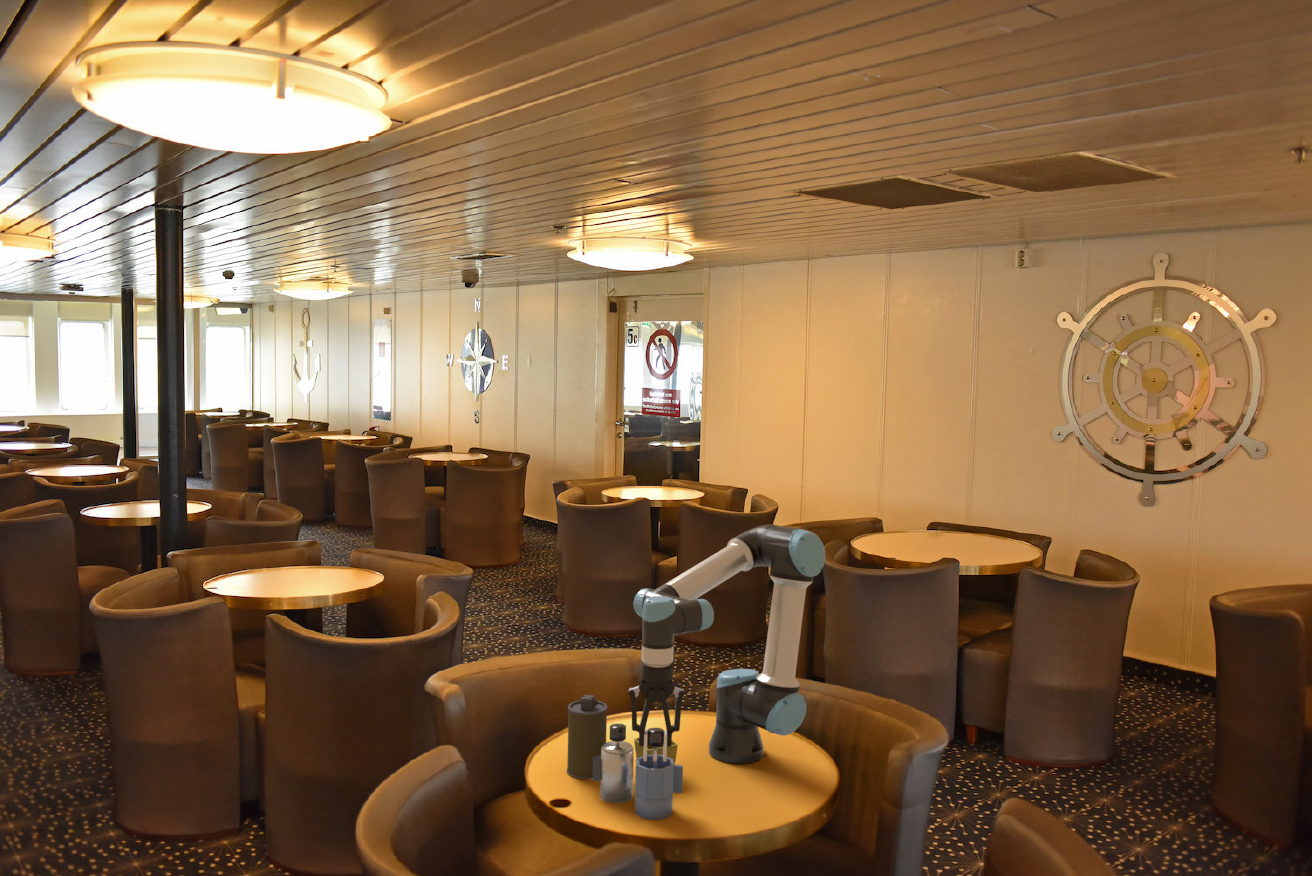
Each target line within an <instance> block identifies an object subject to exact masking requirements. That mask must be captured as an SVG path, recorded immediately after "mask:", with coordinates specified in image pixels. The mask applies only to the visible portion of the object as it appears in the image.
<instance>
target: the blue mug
mask: <svg viewBox="0 0 1312 876" xmlns="http://www.w3.org/2000/svg"><path fill="white" fill-rule="evenodd" d="M683 773H684V765H683V764H675V765H674V761H673V759H671V758H669V757H667V759H666V762H663V755H657V769H653V755H647V761H644V759H643V756H642V757H639V758H635V776H634V777H635V779H634V781H635V782H634V783H635V786H634V789H635V790H634V792H635V793H634V813H635V814H636V816H638V817H639V818H642V819H644V820H648V821H659V820H660V821H661V820H664V819H667V818H670V816H672V815H673V805H674V804H673V801H674V800H673V799H674V798H673V797H674V794H683V777H684V774H683Z"/></svg>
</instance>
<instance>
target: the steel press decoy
mask: <svg viewBox="0 0 1312 876" xmlns="http://www.w3.org/2000/svg"><path fill="white" fill-rule="evenodd" d="M626 735H627V725H626V724H623V723H612V724H611V725H609V740H610V741H606V743H605V744H604V745H603V746H602V748H601V756H593V776H592V779H591V780H592V782H600V784H599V785H600V791H599V792H600V793H599V796H600V799H601V800H602V801H604V802H605V803H609V804H624V803H628V802H630V801H631V800H632V799H633V797H634V796H633V795H634V794H633V793H634V792H633V791H634V790H633V789H634V787H633V786H634V751H635V747H634V746H633V745H632V744H631V743H630V742H627V741H625V740H626V739H627V736H626Z"/></svg>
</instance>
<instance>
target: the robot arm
mask: <svg viewBox="0 0 1312 876" xmlns="http://www.w3.org/2000/svg"><path fill="white" fill-rule="evenodd" d="M825 562H826V548H825V546H824V543H823V541H821V538H820V536H819V535H817V534H816V533H814V532H812V531H808V530H805V529H802V528H795V527H794V528H793V527H787V526H783V525H782V526H781V525H777V524H764V525H759V526H756V527H754V528H751V529H749V530H745V531H744V532H742V533H740V534H738V535H737V536H735V537H733V538H731V539H730V540H729V541H728V542H727V545H726V546H725V547H724V548H722V549H720V550H719V551H718V552H716V553H714V554H712V555H711V556H709V557H707V558H706V559H704V560H703V561H701V562H699V563H698V564H695V565H694V566H692V567H691V568H689V569H688V570H686V571H684V572H682V573H680V575H678V576H676V577H674V578H672V579H670V580H669V581H667V582H666V583H664V584H662V585H661V586H659V587H657V588H656V589H653V588H641V589H640V590H639V591H638V592H637V593H636V595H635V597H634V599H633V609H634V611H635V613H636V614H637V615H638V616H639V617H640V618H642V619H641V620H642V628H641V629H642V631H641V633H642V634H641V636H642V637H641V638H642V639H641V641H642V642H641V661H642V663H641V665H640V666H641V669H640V670H641V671H640V672H641V673H640V682H639V684H638V685H637V686H635V687H632V686H630V687H629V688H628V695H629V698H630V699H631V730H632V731H633V732H637V733H638V736H639V737H638V738H639V745H640V746H644V752H643V759H644V761H647V730H648V729H646V726H647V723H648V719H649V714H650V709H651V706H652V704H653V703H660V704H661V705H662V711H663V717H664V721H665V728H666V730H664V744H663V762H666V759H667V747H671V745H672V740H673V738H672V737H673V734H674V732H679V731H680V728H681V715H682V701H683V698H684V696H685V689H684V688H683V687H680V688H679V687H677V686H675V683H674V679H673V678H674V665H673V662H674V644H675V643H674V642H675V636H679V635H684V634H688V633H689V634H691V633H695V632H697V633H698V632H701V631H702V630H706V629H709V628H710V627H711V626H712V624H713V623H714V620H715V616H714V615H715V612H714V608H713V606H712V604H711V603H710V602H709V601H708V600H707V599H704V598H700V597H701V596H703V595H705V594H706V593H708V592H709V591H711V590H713V589H714V588H716V587H717V586H719V585H720V584H722V583H724V582H726V581H727V580H729V579H730V578H732V577H734V576H736V575H737V574H738V573H740V572H741V571H743V572H748V571H750V570H752V569H753V568H757V567H768V568H770V569H769V577H770V579H771V580H772V581H773V590H772V591H773V592H772V598H771V605H770V613H769V621H768V629H767V635H766V636H767V638H766V643H765V653H764V661H763V669H762V672H761V673H759V671H758V670H755V669H750V668H734V669H728V670H724V671H722V672H721V673H719V675H718V676H717V682H716V683H717V684H716V687H715V688H716V696H715V697H716V699H715V703H716V705H715V706H716V708H715V709H716V710H715V711H716V713H715V714H716V715H715V726H714V729H713V731H712V734H711V737H710V740H709V743H708V753H709V755H710V756H711V757H713V758H714V759H716V760H719V761H721V762H725V763H731V764H750V763H755V762H757V761H759V760H761V759H762V758H763V757H764V744H763V740H762V736H761V734H760V730H759V728H760V729H763V730H764V731H767V732H768V733H771V734H776V735H778V736H783V737H784V736H785V737H786V736H789V735H791V734H793V733H794V732H795V731H796V730H797V729H798V728H799V727H801V725H802V724H803V721H804V719H805V716H806V713H807V702H806V699H805V698H804V696H803V695H802V694H800V682H799V681H798V679H797V677H796V671H797V664H798V655H799V649H800V648H799V647H800V640H801V633H802V632H801V631H802V626H803V625H802V623H803V615H804V608H805V601H806V593H807V588H808V587H809V586H810V585H812V583H813V582H814V577H816V576H818V575H819V574H820V573H821V572H822V569H823V568H824V566H825ZM639 693H641V694H642V696H643V697H644V698H645V701H644V702H645V703H644V706H643V709H642V713H641V714H642V715H641V718H640V724H639V723H638V711H637V710H638V705H637V704H638V703H637V701H638V700H637V698H638V697H639ZM673 693H674V697H675V707H674V719H673V720H674V722H673V724H672V722H671V717H670V711H669V707H668V699H669V698H670V696H671V695H672V694H673Z"/></svg>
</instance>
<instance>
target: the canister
mask: <svg viewBox="0 0 1312 876" xmlns="http://www.w3.org/2000/svg"><path fill="white" fill-rule="evenodd" d="M567 710H568V718H567V719H568V721H567V723H568V725H567V727H568V728H567V730H568V731H567V766H566V773H567V774H568V775H569V776H570V777H572V778H575V779H579V780H592V776H593V756H601V748H602V746H603V745H604V744H605V743H607V723H608V722H607V719H608V718H607V716H608V715H607V714H608V713H607V712H608V705H607V704H606V703H605V702H602V701H600V700H598V698H596V695H592V694H583V695H582V697H581V698H580V700H576V701H573V702H571V703H569V704H568V706H567Z"/></svg>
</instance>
